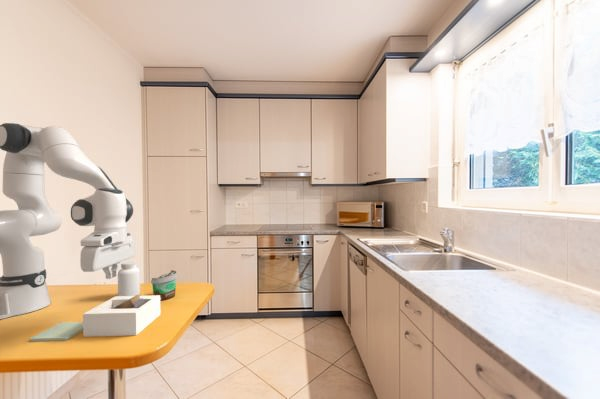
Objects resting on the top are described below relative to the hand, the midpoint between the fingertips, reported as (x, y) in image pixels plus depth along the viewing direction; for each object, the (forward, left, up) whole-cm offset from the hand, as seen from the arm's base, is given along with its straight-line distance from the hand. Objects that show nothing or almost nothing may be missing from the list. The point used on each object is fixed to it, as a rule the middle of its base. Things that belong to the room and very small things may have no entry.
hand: (111, 277), depth 85 cm
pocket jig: (+4, 0, -16) cm, 17 cm away
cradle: (+4, 0, -12) cm, 13 cm away
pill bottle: (-11, +25, -16) cm, 32 cm away
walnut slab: (+4, 0, -12) cm, 12 cm away
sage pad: (-13, -4, -16) cm, 21 cm away
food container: (+7, +23, -16) cm, 29 cm away
